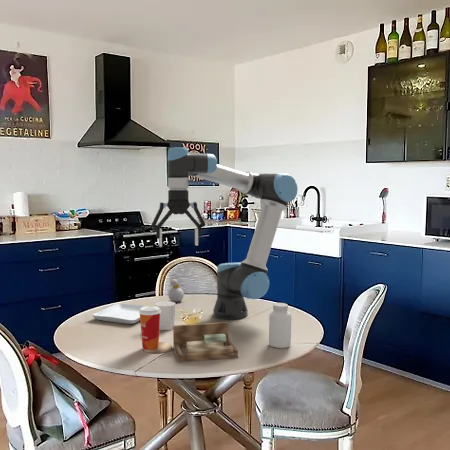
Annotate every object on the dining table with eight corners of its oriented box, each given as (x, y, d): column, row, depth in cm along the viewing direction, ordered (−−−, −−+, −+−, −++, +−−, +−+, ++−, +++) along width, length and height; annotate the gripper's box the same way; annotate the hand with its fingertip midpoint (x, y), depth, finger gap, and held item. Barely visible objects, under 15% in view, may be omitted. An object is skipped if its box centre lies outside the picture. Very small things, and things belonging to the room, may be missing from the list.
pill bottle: (285, 350, 181) (285, 308, 180) (265, 346, 186) (265, 305, 184) (294, 343, 188) (295, 303, 187) (274, 340, 192) (275, 300, 191)
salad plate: (133, 327, 209) (133, 319, 208) (90, 322, 217) (90, 314, 216) (159, 314, 228) (159, 307, 228) (119, 309, 236) (119, 302, 236)
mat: (170, 342, 189) (170, 341, 189) (173, 352, 179) (173, 350, 179) (142, 344, 187) (142, 343, 187) (144, 354, 177) (144, 352, 177)
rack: (227, 343, 189) (227, 321, 188) (238, 357, 174) (238, 334, 173) (173, 347, 184) (173, 325, 183) (179, 362, 170) (179, 338, 169)
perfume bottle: (182, 299, 255) (182, 275, 254) (186, 303, 246) (186, 279, 245) (167, 300, 253) (167, 276, 252) (170, 305, 244) (170, 280, 243)
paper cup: (140, 343, 186) (139, 305, 185) (161, 343, 187) (161, 305, 185) (138, 351, 178) (137, 311, 177) (160, 350, 179) (160, 311, 177)
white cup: (172, 331, 203) (171, 306, 202) (153, 330, 204) (152, 305, 203) (177, 325, 211) (177, 301, 210) (159, 324, 212) (159, 300, 211)
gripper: (209, 188, 199) (209, 243, 201) (143, 189, 193) (144, 245, 195) (213, 189, 191) (213, 246, 193) (145, 189, 186) (146, 248, 188)
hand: (178, 245), depth 194 cm, fingers open, 13 cm apart
